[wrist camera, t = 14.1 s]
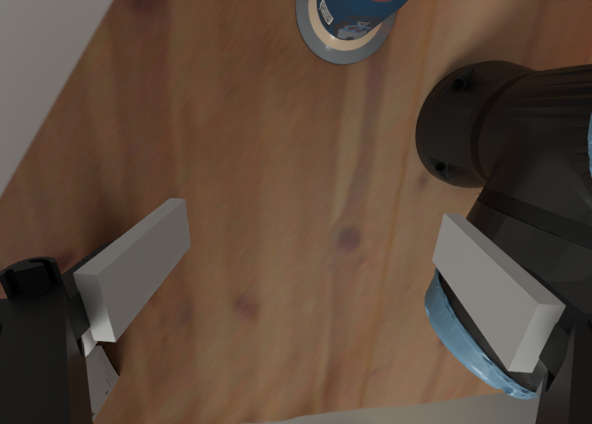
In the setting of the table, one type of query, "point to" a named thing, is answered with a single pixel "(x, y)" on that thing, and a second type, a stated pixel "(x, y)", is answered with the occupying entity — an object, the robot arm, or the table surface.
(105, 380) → the supplement box
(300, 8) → the coaster
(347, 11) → the soda can
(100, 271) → the robot arm
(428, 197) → the table surface
